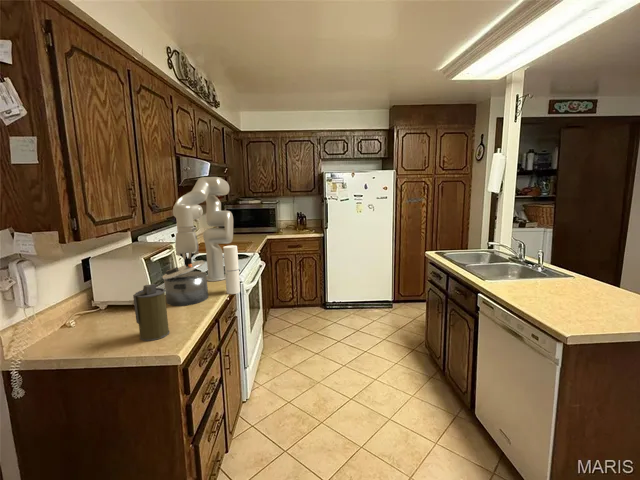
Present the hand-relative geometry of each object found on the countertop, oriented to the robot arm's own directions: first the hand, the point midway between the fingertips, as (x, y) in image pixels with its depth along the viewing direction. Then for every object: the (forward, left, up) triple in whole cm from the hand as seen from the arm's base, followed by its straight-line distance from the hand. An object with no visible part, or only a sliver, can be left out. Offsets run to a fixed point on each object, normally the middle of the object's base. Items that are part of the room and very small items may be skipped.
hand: (188, 266), depth 167 cm
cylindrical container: (-8, +20, -18) cm, 28 cm away
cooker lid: (-1, -2, -2) cm, 3 cm away
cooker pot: (-1, -2, -17) cm, 17 cm away
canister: (+41, -4, -18) cm, 45 cm away
